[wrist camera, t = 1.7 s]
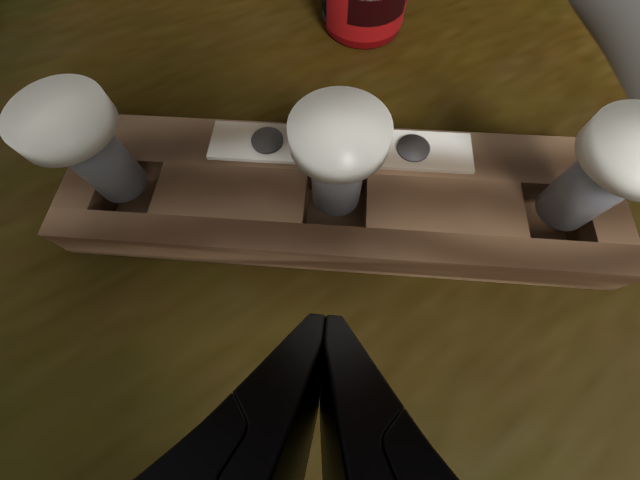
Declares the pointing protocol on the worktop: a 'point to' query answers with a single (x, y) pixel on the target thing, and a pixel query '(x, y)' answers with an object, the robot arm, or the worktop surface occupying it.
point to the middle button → (339, 143)
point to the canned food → (363, 21)
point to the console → (356, 227)
